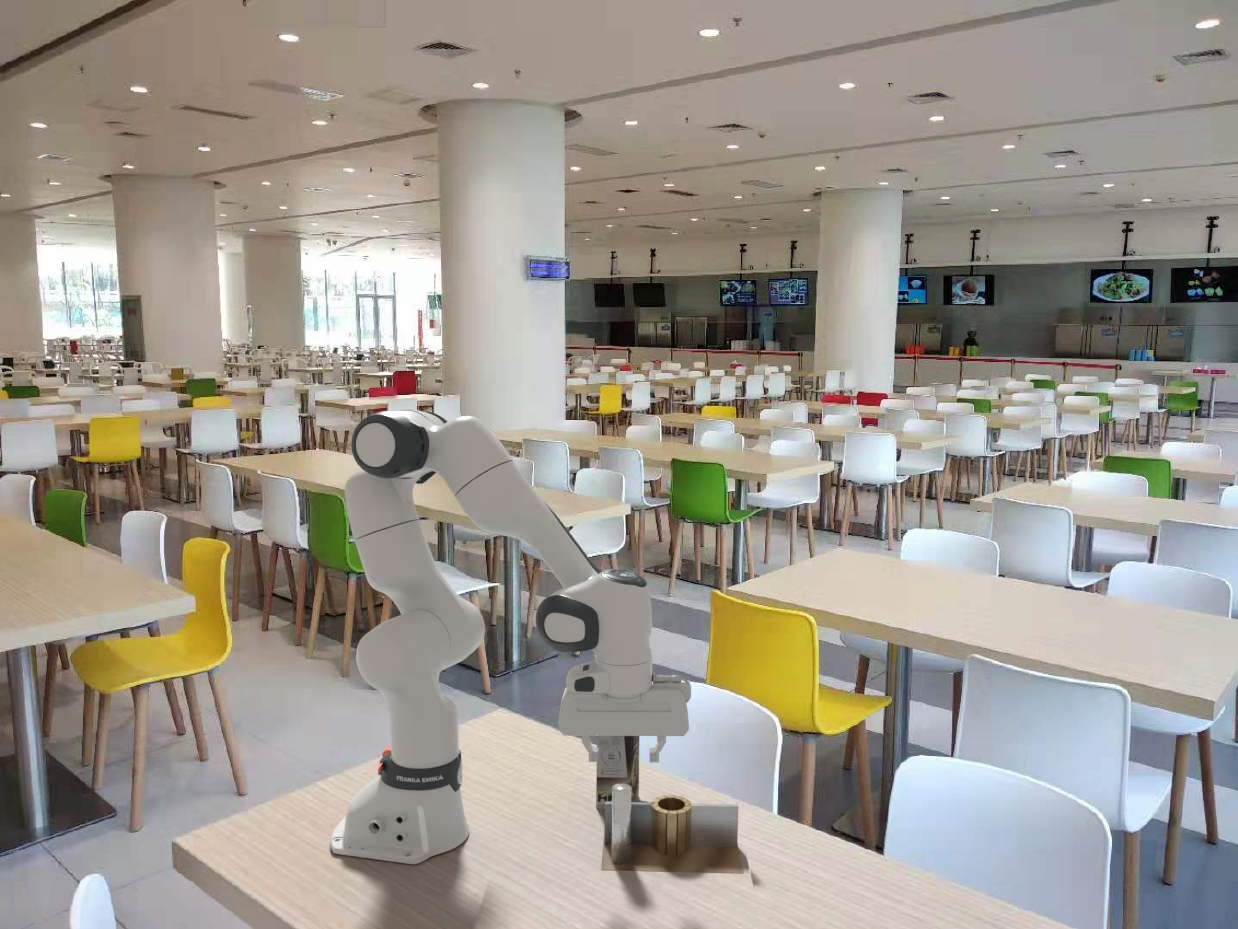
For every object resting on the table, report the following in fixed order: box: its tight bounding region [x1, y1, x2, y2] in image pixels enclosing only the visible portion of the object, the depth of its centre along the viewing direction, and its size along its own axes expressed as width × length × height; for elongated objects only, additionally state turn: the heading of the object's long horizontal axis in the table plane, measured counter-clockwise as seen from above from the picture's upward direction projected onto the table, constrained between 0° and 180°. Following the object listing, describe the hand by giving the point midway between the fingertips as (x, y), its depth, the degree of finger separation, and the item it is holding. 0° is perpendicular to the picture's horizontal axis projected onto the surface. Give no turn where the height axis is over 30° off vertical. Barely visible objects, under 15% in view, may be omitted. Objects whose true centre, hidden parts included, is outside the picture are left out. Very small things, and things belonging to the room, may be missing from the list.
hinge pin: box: [612, 783, 631, 865], centre depth 150 cm, size 3×3×12 cm
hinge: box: [603, 794, 739, 855], centre depth 155 cm, size 22×6×7 cm, turn 89°
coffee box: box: [595, 736, 640, 810], centre depth 171 cm, size 9×6×16 cm
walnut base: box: [600, 830, 744, 875], centre depth 154 cm, size 22×12×2 cm, turn 89°
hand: (623, 761), depth 149 cm, fingers open, 8 cm apart
